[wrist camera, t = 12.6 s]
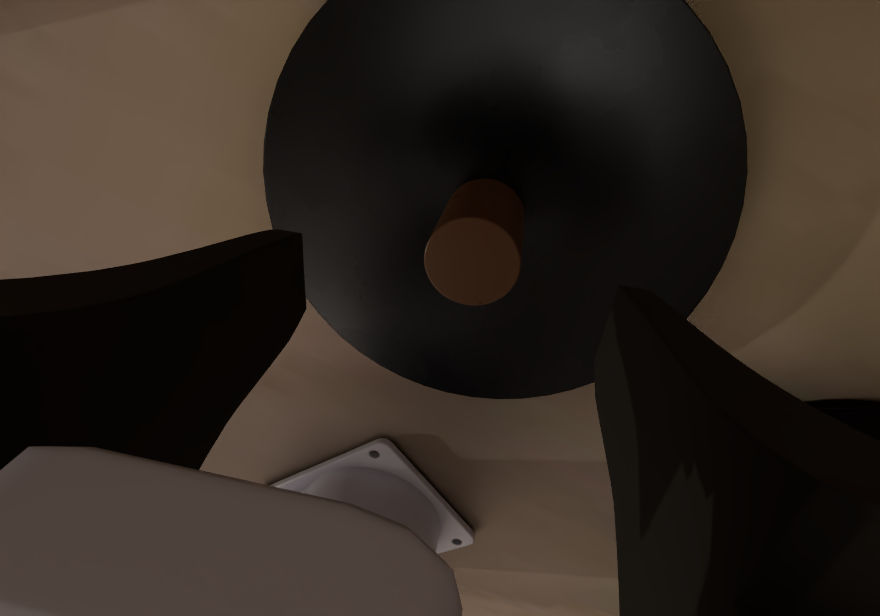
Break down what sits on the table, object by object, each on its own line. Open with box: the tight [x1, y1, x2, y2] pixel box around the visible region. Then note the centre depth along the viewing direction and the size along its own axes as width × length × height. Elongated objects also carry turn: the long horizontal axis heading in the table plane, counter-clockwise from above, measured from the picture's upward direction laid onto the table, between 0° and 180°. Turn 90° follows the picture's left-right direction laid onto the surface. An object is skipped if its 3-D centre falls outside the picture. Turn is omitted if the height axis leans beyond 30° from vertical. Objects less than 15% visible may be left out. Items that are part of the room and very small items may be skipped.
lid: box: [263, 0, 747, 399], centre depth 15 cm, size 15×15×5 cm
